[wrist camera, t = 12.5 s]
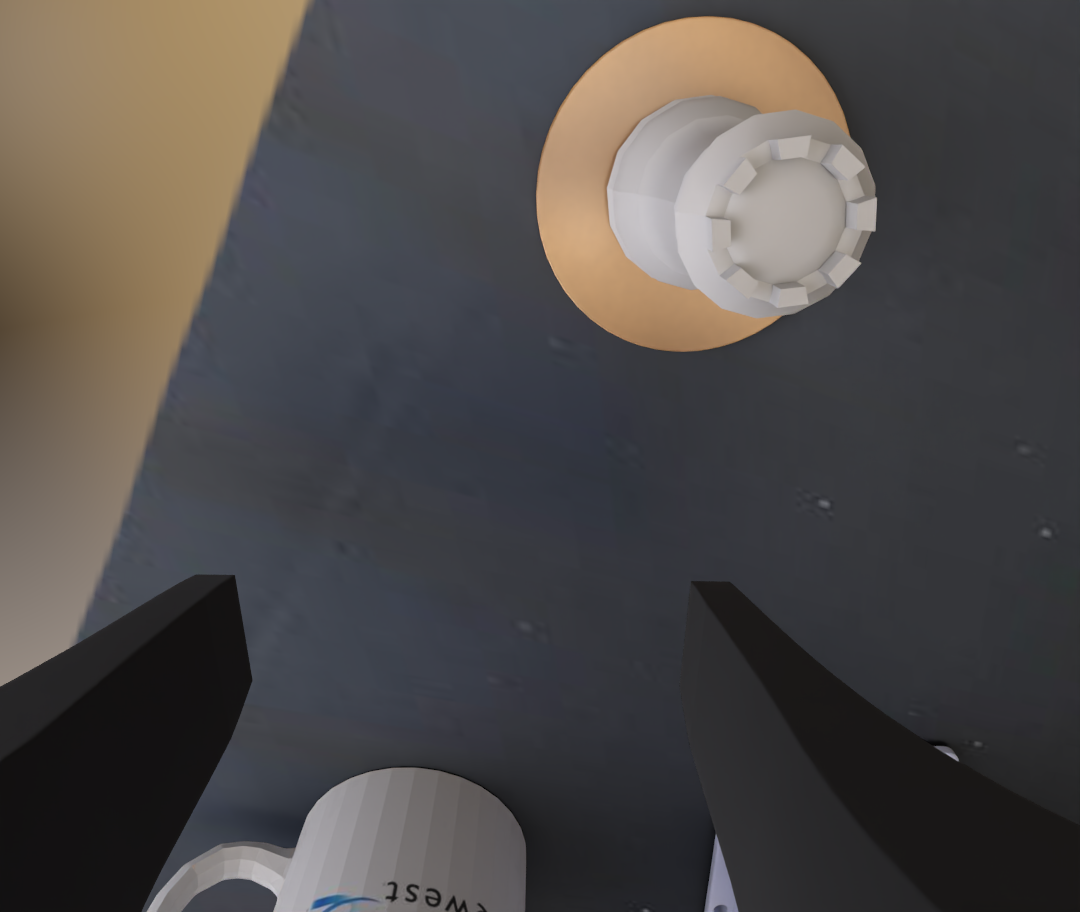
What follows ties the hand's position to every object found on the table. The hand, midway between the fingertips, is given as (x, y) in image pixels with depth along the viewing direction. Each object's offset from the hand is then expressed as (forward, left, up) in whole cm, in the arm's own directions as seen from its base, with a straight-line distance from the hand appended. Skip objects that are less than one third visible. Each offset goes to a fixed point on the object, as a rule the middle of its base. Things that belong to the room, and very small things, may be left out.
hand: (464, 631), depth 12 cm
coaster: (+6, -5, -10) cm, 13 cm away
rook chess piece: (+6, -5, -10) cm, 13 cm away
